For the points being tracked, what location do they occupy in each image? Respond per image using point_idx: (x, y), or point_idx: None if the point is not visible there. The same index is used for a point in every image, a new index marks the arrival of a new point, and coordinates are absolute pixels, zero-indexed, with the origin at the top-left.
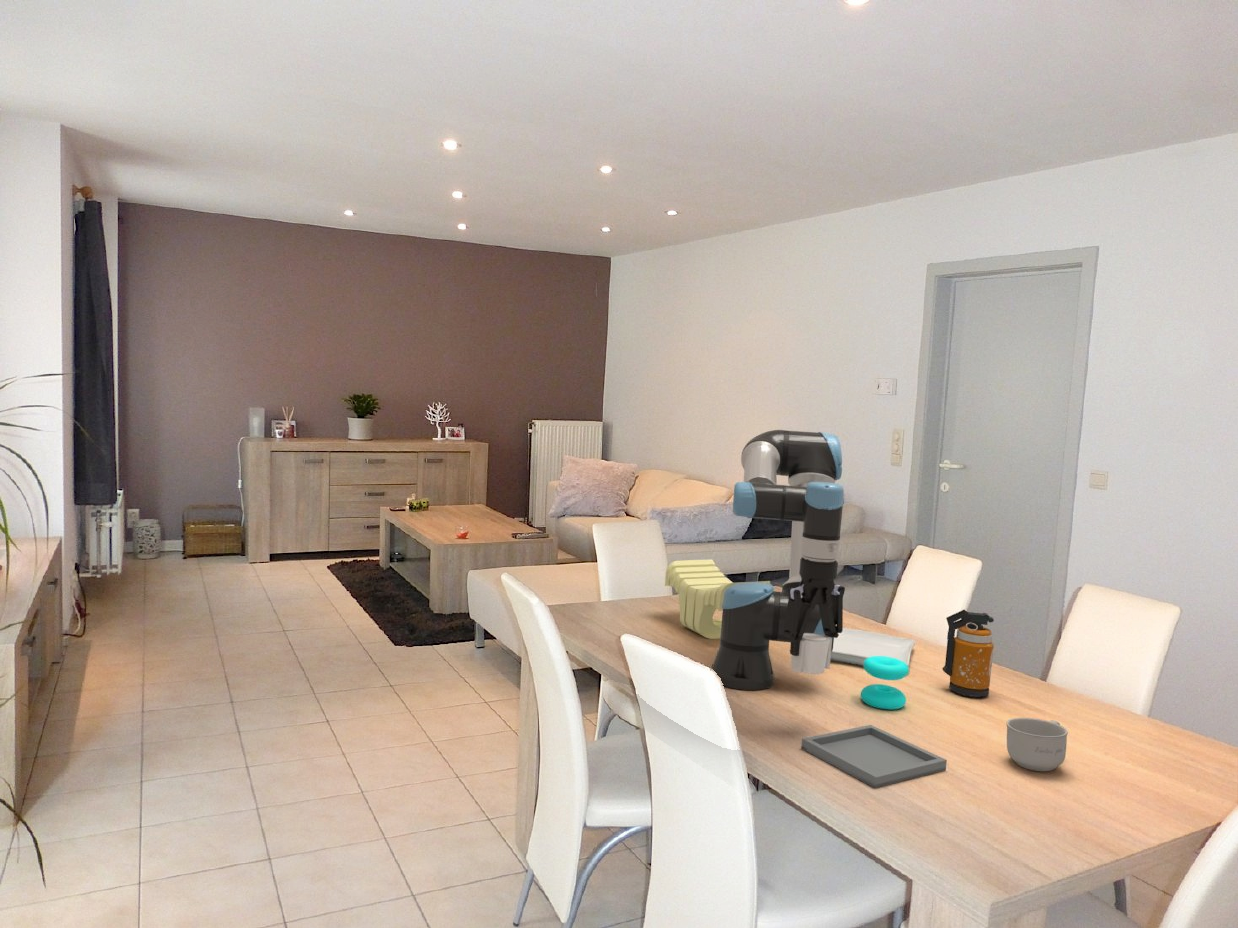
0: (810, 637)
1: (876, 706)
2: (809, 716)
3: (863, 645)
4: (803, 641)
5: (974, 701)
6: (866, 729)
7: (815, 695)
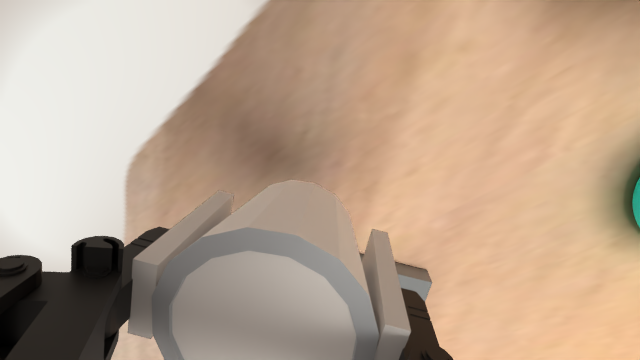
0: (241, 329)
1: (632, 202)
2: (417, 121)
3: None
4: (139, 335)
5: None
6: (400, 285)
7: (611, 22)
